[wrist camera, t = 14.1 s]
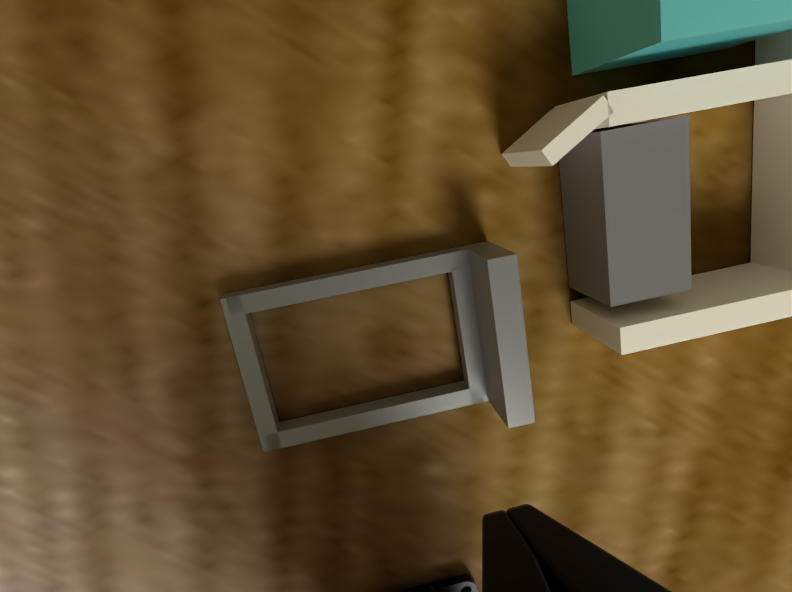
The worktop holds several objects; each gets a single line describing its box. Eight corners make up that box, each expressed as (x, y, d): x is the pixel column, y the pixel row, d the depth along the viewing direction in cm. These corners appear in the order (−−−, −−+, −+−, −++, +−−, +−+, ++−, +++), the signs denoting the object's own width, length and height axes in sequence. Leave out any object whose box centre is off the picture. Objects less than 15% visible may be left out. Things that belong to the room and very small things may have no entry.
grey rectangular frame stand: (487, 241, 19) (516, 253, 16) (505, 386, 20) (535, 422, 18) (224, 293, 18) (205, 317, 15) (266, 441, 20) (255, 488, 17)
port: (521, 335, 20) (560, 368, 17) (468, -142, 16) (506, -227, 12) (771, 280, 21) (856, 301, 18) (786, -183, 17) (904, -273, 13)
